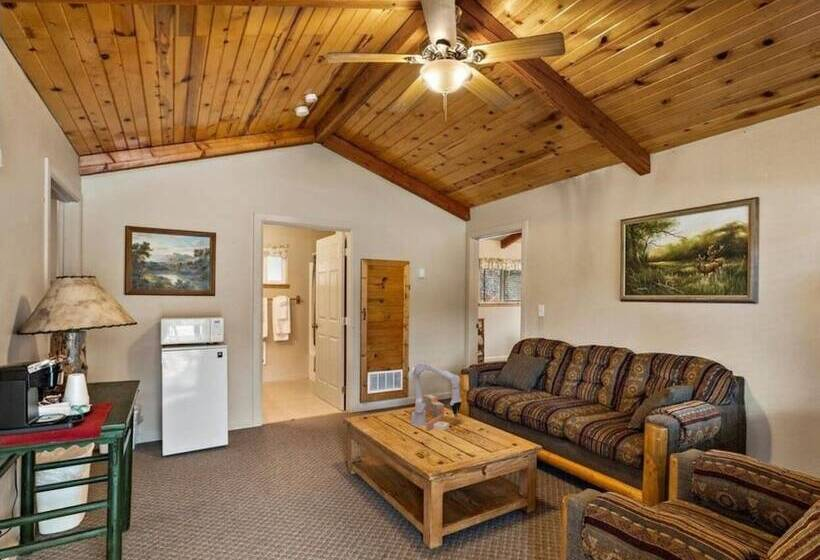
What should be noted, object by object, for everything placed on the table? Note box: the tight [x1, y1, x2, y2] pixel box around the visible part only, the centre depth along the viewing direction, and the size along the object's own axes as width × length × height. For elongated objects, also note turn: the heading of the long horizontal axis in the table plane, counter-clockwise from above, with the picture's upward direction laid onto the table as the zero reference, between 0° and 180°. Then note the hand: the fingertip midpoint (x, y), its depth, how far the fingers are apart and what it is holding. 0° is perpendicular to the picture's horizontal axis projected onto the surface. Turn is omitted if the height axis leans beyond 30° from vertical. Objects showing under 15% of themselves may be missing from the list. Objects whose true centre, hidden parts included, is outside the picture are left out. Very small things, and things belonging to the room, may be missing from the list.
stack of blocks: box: [422, 393, 445, 418], centre depth 327 cm, size 21×6×12 cm, turn 26°
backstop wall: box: [426, 415, 443, 432], centre depth 294 cm, size 2×20×5 cm, turn 150°
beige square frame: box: [433, 421, 450, 431], centre depth 291 cm, size 8×8×2 cm
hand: (455, 413), depth 294 cm, fingers closed on birch dowel, 2 cm apart
